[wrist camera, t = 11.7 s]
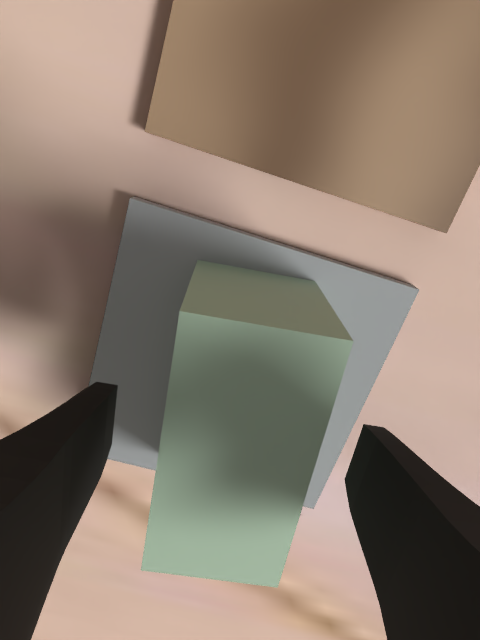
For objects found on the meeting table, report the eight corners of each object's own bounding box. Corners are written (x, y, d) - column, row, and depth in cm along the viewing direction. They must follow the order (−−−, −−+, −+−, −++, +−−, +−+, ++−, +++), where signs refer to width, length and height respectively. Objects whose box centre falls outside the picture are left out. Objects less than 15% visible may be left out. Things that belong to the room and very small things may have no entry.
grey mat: (412, 284, 15) (419, 289, 15) (311, 498, 19) (313, 508, 18) (133, 196, 14) (129, 198, 14) (79, 441, 17) (74, 450, 17)
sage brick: (315, 281, 15) (353, 341, 10) (266, 470, 17) (277, 587, 13) (197, 259, 14) (179, 311, 10) (166, 456, 17) (140, 570, 12)
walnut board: (614, -141, 11) (634, -156, 11) (438, 230, 15) (446, 233, 14) (247, -315, 10) (248, -343, 9) (148, 132, 13) (144, 131, 13)
